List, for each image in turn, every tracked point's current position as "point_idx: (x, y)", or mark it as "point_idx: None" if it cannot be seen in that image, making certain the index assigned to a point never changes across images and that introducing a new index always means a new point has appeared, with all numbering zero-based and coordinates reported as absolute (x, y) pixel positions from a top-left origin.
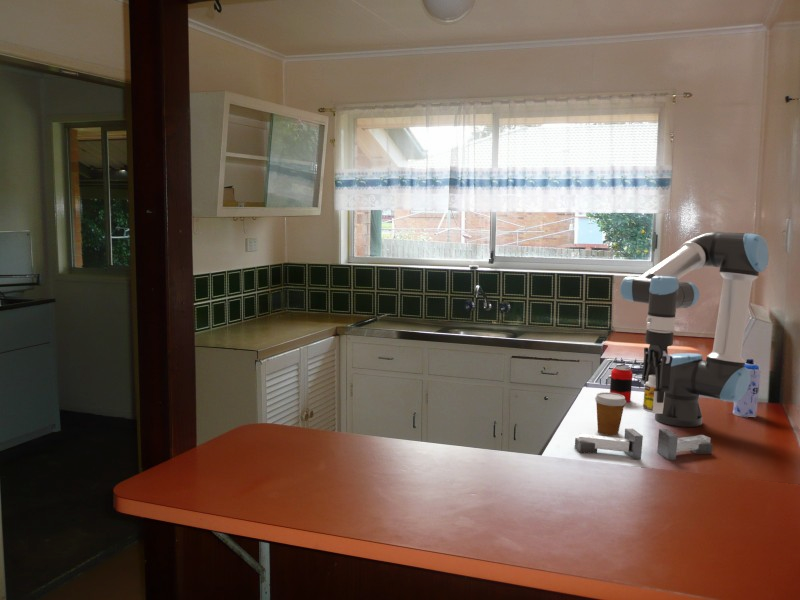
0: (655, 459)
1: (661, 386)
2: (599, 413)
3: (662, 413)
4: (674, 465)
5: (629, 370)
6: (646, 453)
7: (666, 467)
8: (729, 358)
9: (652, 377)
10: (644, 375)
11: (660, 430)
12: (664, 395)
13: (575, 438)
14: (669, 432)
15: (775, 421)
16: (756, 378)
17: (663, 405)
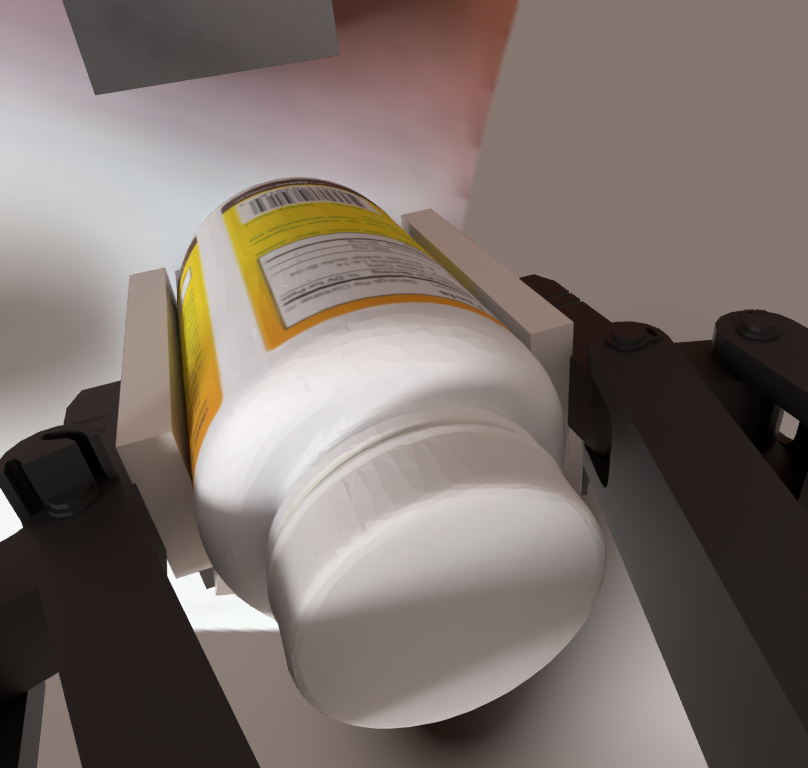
0: (301, 133)
1: (790, 462)
2: None
3: (429, 210)
4: (404, 23)
5: None
6: (178, 168)
7: (448, 99)
8: None
9: (545, 658)
10: (28, 759)
11: (129, 88)
12: (415, 253)
13: (208, 586)
14: (202, 11)
15: None
16: None
17: (371, 207)
